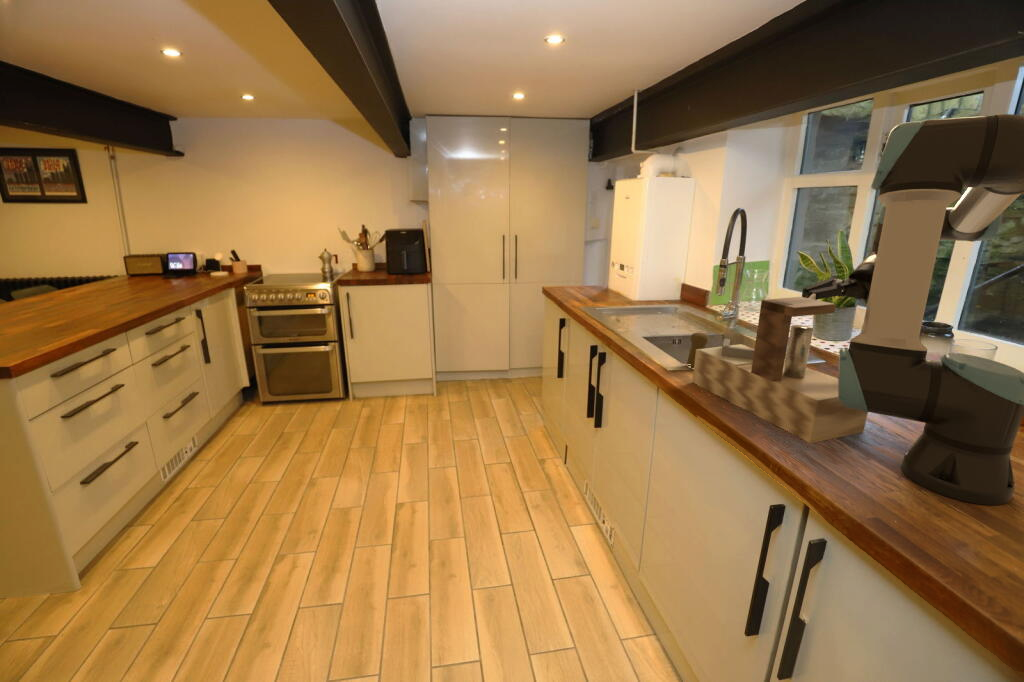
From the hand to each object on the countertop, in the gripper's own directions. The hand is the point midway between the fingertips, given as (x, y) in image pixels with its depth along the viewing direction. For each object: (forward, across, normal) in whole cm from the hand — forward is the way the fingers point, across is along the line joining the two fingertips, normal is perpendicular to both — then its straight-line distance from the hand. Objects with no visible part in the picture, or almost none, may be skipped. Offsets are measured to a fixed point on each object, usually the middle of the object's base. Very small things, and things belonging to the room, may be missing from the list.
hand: (830, 320), depth 112 cm
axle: (+13, +1, -8) cm, 16 cm away
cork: (+6, +32, -28) cm, 43 cm away
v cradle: (+9, +17, -13) cm, 23 cm away
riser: (+16, +5, -19) cm, 25 cm away
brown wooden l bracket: (+15, +2, -8) cm, 17 cm away
